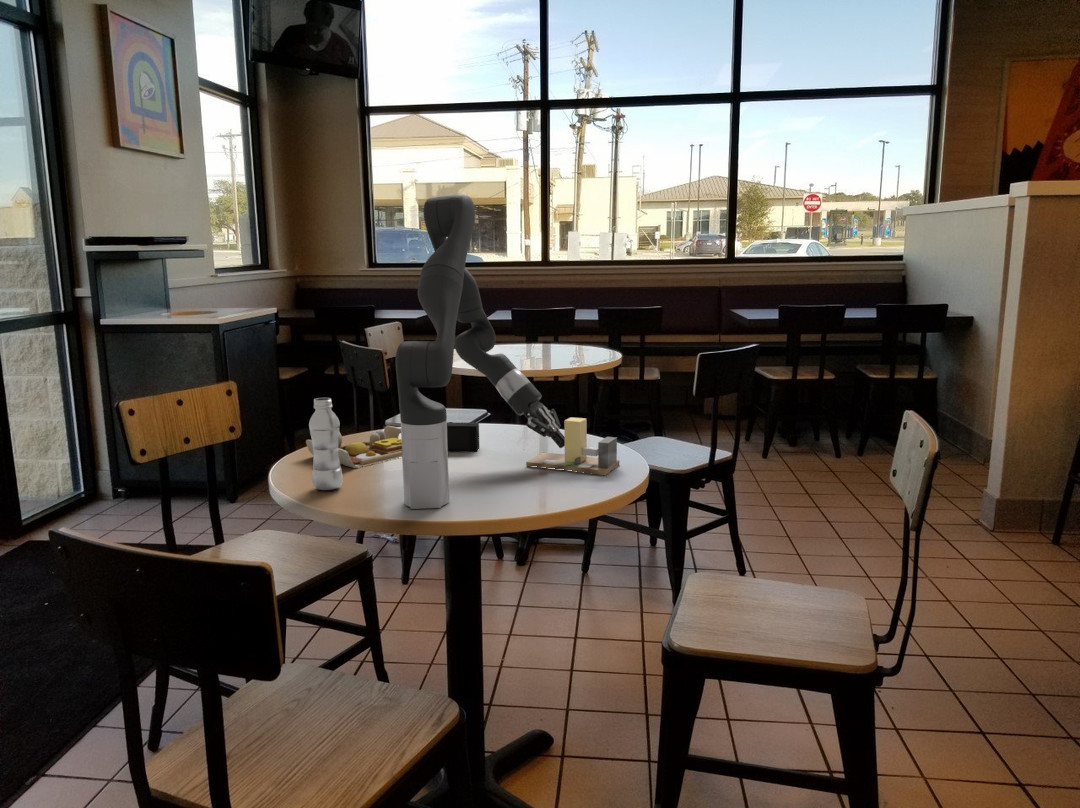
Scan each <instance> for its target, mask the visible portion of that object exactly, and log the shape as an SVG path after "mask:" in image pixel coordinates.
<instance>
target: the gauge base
mask: <svg viewBox="0 0 1080 808" xmlns="http://www.w3.org/2000/svg"><path fill="white" fill-rule="evenodd" d="M597 443H598V444H597V448H598V456H597V457H595V456H587V459H586V460H585V461H583V462H582V463H578V464H575V462H565V453H553V452H542V453H540V454H538V455H536V456H534V457H532V458H530V459H528V460H527V461H526V462H525V467H526V466H537V467H546V468H555V469H564V470H572V471H577V472H584V473H583V474H585V473H592V474H591V475H594V474H601V475H600V476H603V475H605V476H607V475H608V474H609V473H611V472H612V471H614V470H615V469H617V467H619V466H620V459H618V458H617V457H618V455H617V454H618V452H617V451H618V450H617V448H618V447H617V446H618V437H613V436H606V437H603V439H601V440H599V441H598V442H597ZM614 468H615V469H614ZM611 470H612V471H611ZM610 471H611V472H610ZM607 473H608V474H607ZM606 474H607V475H606Z"/></svg>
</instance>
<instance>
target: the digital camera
mask: <svg viewBox="0 0 1080 808" xmlns="http://www.w3.org/2000/svg"><path fill="white" fill-rule="evenodd" d="M447 448H448V453H450V452H451V453H456V452H457V453H463V452H464V453H478V451H479V450H480V423H479V422H453V421H447ZM478 449H479V450H478Z"/></svg>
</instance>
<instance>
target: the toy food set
mask: <svg viewBox="0 0 1080 808" xmlns="http://www.w3.org/2000/svg"><path fill="white" fill-rule="evenodd" d="M399 435H401V427H397V426H392V425H386V426H384V428H383V430H382V429H378V430H376V431H375V432H372V433H371V434H370V435H369V440H367V441H366V440H365V441H362V442H361V441H354V442H352V443H349V444H348V445H342V444H343V436H342V434H341V432H340V431H339V438H338V453H339V460H340V465H342V464H343V466H346V467H349V468H352V469H355V468H357V469H359V468H358V467H361V468H363V467H362V466H366V467H368V466H367V465H370V464H374V465H376V464H375V463H378V464H380V463H379V462H382V463H384V462H383V461H386V462H388V461H387V460H390V461H392V460H391V459H394V460H397V459H396V458H398V459H400V458H399V457H402V440H401V439H400V438H399ZM305 444H306V447H307V449H308V451H309V453H310V454H311V455H313V456H314V454H313V445H312V439H306V440H305ZM370 466H371V465H370Z"/></svg>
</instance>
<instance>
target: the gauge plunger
mask: <svg viewBox="0 0 1080 808" xmlns="http://www.w3.org/2000/svg"><path fill="white" fill-rule="evenodd" d="M563 425H564V437H565V446H564V454H565V462H575V464H578V463H582V462H583V461H585V460H586V459H587V457H598V447H593V446H592V447H591V446H587V440H588V439H587V436H588V435H587V429H588V428H587V426H588V425H587V418H583V417H568V418H567V419H565V420H564V424H563Z"/></svg>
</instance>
